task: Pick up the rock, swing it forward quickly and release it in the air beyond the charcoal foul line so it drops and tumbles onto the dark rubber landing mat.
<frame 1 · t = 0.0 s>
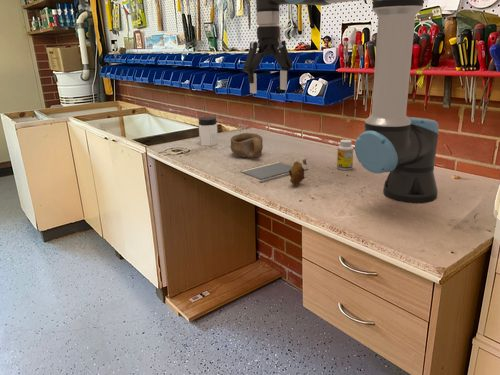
hand: (268, 91, 147), 28 cm above the workbench, fingers open, 13 cm apart
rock: (298, 185, 139), on the workbench
supplement bottle: (344, 168, 154), on the workbench
foul line: (284, 175, 148), on the workbench
jar: (209, 144, 196), on the workbench
landing mat: (270, 170, 154), on the workbench
bowl: (250, 156, 174), on the workbench
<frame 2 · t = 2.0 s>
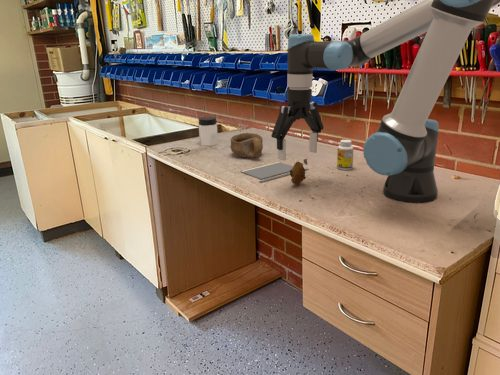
hand: (297, 155, 136), 10 cm above the workbench, fingers open, 13 cm apart
nothing on the workbench moved.
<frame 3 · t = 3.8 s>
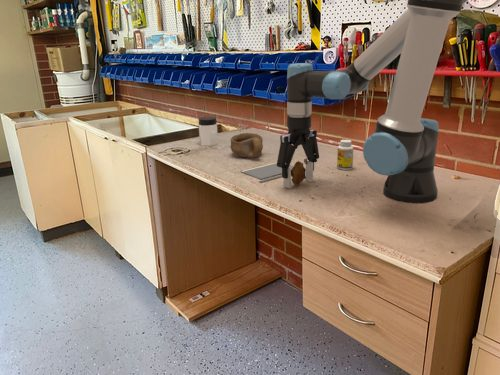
hand: (298, 183, 138), 0 cm above the workbench, fingers open, 9 cm apart
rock: (299, 185, 139), on the workbench, touching gripper
everything else where it was.
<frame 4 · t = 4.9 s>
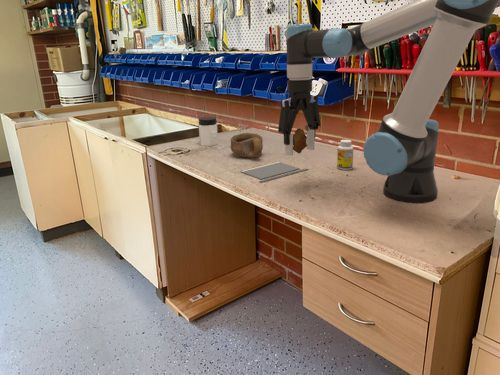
hand: (300, 151, 134), 11 cm above the workbench, fingers closed on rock, 9 cm apart
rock: (301, 153, 134), point 11 cm above the workbench, touching gripper
everything else where it was.
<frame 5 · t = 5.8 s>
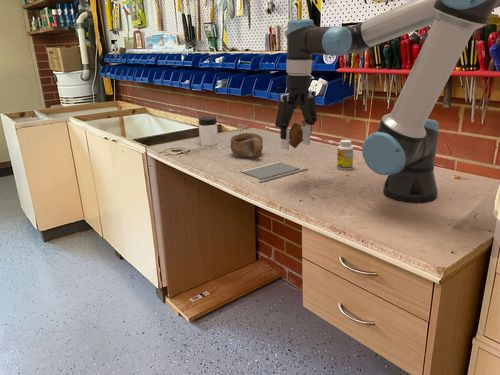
hand: (295, 146, 136), 12 cm above the workbench, fingers closed on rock, 9 cm apart
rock: (296, 147, 136), point 12 cm above the workbench, touching gripper
everything else where it was.
when the fingers open (4 cm above the workbench, at t = 7.1 s): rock drops 4 cm, resting on landing mat.
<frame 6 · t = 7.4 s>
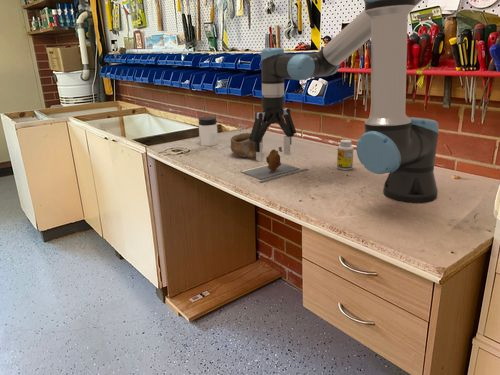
hand: (273, 157, 150), 5 cm above the workbench, fingers open, 12 cm apart
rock: (275, 171, 152), resting on landing mat
everything else where it was.
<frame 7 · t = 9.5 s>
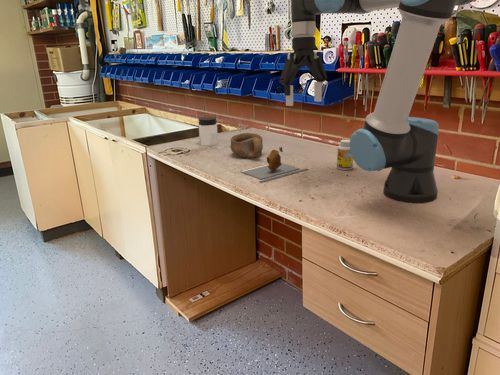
hand: (304, 103, 142), 24 cm above the workbench, fingers open, 13 cm apart
nothing on the workbench moved.
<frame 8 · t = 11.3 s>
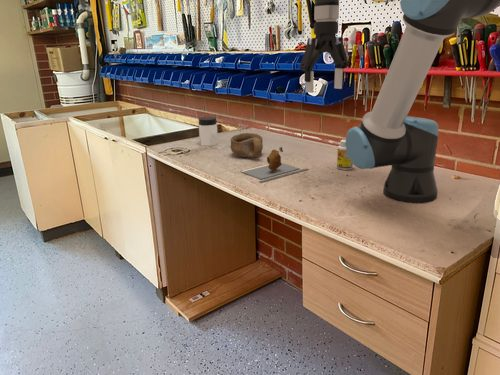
hand: (324, 90, 139), 29 cm above the workbench, fingers open, 13 cm apart
nothing on the workbench moved.
at the end: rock inside the target area (7.7 cm from its centre), resting on landing mat; the gripper is holding nothing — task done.
